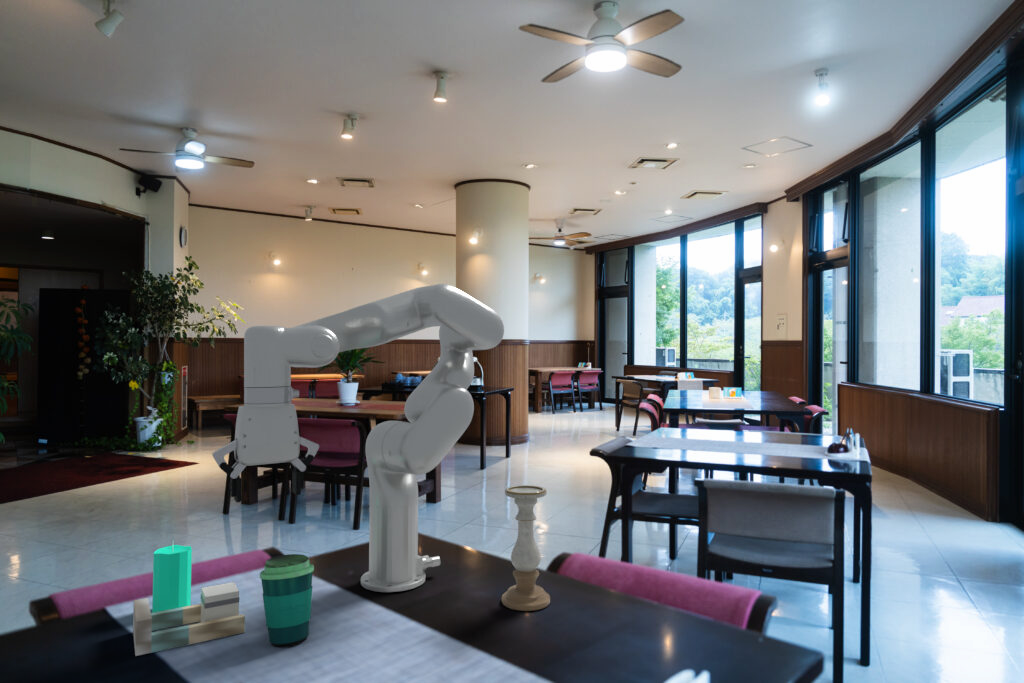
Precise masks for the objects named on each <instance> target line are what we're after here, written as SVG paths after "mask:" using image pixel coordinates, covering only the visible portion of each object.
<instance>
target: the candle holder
mask: <svg viewBox="0 0 1024 683" xmlns="http://www.w3.org/2000/svg"><path fill="white" fill-rule="evenodd" d="M504 495H505V496H506V497H509V498H513V500H514V501H513V502H514V504H516V506H517V508H518V512H517V514H516V515H515V517H514V519H515V520H516V521H517V523H518V524H517V525H518V526H517V537H516V541H515V543H514V546H513V548H512V549H511V550H512V551H511V554H510V561H511V564H512V565H513V567H514V568H515V569H514V570H513V571H512V576H513V577H514V579H515V584H514V585H511V586H509V588H508V589H507V591H505V592H504V593H503V594H502V596H501V603H502V605H503V606H505V607H506V608H508V609H510V610H515V611H520V612H521V611H524V612H530V611H532V612H533V611H538V610H542V609H544V608H547V607H548V606H549V605H550V603H551V596H550V594H549V593H548V592H547V591H545V590H544V588H543V587H542V586H540V585H537V584H536V581H537V578H538V577H539V575H540V572H539V570H537V568H538V566H539V565H540V564H541V560H542V559H541V558H542V556H541V552H540V548H539V547H538V545H537V541H536V539H535V532H534V531H535V530H534V522H535V520H537V516H536V514H535V513H534V508H535V506H536V504H537V503H538V499H539V498H543V497H545V496H547V488H546V487H543V486H538V485H529V484H528V485H526V484H525V485H524V484H523V485H520V484H519V485H514V486H509V487H506V488H505V491H504Z"/></svg>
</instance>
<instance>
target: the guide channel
mask: <svg viewBox="0 0 1024 683" xmlns="http://www.w3.org/2000/svg"><path fill="white" fill-rule="evenodd" d="M132 614H133V618H132V620H133V621H132V636H133V644H134V646H133V648H134V655H135V657H137V656H143V655H146V654H152V653H155V652H156V653H157V652H161V651H166V650H169V649H175V648H179V647H184V646H188V645H194V644H198V643H203V642H207V641H210V640H211V641H213V640H217V639H222V638H225V637H230V636H234V635H239V634H243V633H245V632H246V627H245V626H246V625H245V624H246V616H245V614H243V613H241V614H239V615H236V616H232V617H227V618H222V619H217V620H212V621H207V622H202V623H201V603H197V604H191V606H186V607H180V608H175V609H170V610H164V611H159V612H154V613H152V610H151V606H150V602H149V598H148V597H146V598H139V599H135V600H133V613H132ZM198 622H199V623H198ZM183 625H184V626H183ZM178 626H179V627H178Z"/></svg>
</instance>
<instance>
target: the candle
mask: <svg viewBox="0 0 1024 683" xmlns="http://www.w3.org/2000/svg"><path fill="white" fill-rule="evenodd" d="M174 542H175V541H174V539H173V540H172V545H168V546H164V547H161V548H158V549H156V550H155V551H154V552H153V556H152V557H153V563H152V566H153V568H152V602H151V603H152V605H151V608H152V609H151V613H154V612H159V611H164V610H170V609H175V608H180V607H186V606H191V605H192V604H191V601H192V597H191V596H192V562H193V561H192V557H193V555H192V554H193V549H192V546H191V545H182V544H181V545H179V544H174Z"/></svg>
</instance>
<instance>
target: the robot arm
mask: <svg viewBox="0 0 1024 683" xmlns="http://www.w3.org/2000/svg"><path fill="white" fill-rule="evenodd" d="M433 327H439V329H438V338H439V343H440V355H439V359H438V362H437V363H436V364H435V366H434V367H433V369H432V370H431V371H430V372H429V373H428V374H427V375H426V377H425V378H423V380H422V381H421V382H420V383H419V384H418V385H417V386H416V388H415V389H414V390H413V391H412V392H411V393H410V395H408V397H407V399H406V401H405V403H404V408H403V411H404V415H405V418H406V419H407V421H400V420H387V421H383V422H381V423H378V424H376V425H375V426H374V427H373V428H372V429H371V430H370V432H369V434H368V435H367V438H366V442H365V449H364V450H365V457H366V464H367V471H368V480H369V481H368V482H369V510H368V512H369V520H368V521H369V522H368V524H369V528H368V530H369V533H368V535H369V536H368V539H369V541H368V545H369V546H368V571H366V572H364V573H363V574H362V576H361V577H360V585H361V586H362V588H364V589H366V590H369V591H372V592H378V593H397V592H404V591H409V590H412V589H415V588H418V587H420V586H422V585H423V584H424V583H425V582H426V572H425V571H426V570H427V568H434V567H439V566H440V565H441V558H440V556H439V555H436V556H429V554H425V555H422V556H421V555H419V485H418V479H417V475H419V476H420V475H425V474H427V473H430V472H431V471H433V470H434V469H436V467H437V466H438V465H439V464H440V463H441V461H443V459H445V457H446V456H447V455H448V453H449V452H450V451H451V449H452V448H453V447H454V446H455V444H456V443H457V442H458V440H459V439H460V438H461V437H462V436H463V435H464V433H465V431H466V430H467V429H468V427H469V426H470V424H471V422H472V420H473V416H474V411H475V404H474V399H473V397H472V394H471V393H470V392H469V390H468V388H469V387H470V386H471V384H472V383H473V380H474V377H475V376H474V375H475V363H474V355H473V354H474V353H473V351H484V350H490V349H494V348H495V347H497V346H498V345H499V344H500V343H501V342H502V340H503V338H504V336H505V335H504V334H505V326H504V321H503V320H502V318H501V316H500V315H499V314H498V313H497V312H496V310H494V309H492V308H491V307H490V306H488V305H486V304H484V303H482V302H481V301H480V300H478V299H476V298H474V297H473V296H471V295H469V294H468V293H466V292H464V291H463V290H461V289H460V288H457V287H455V286H453V285H450V284H447V283H437V284H433V285H432V284H431V285H426V286H420V287H416V288H413V289H409V290H406V291H403V292H399V293H397V294H393V295H391V296H387V297H385V298H382V299H377V300H375V301H371V302H367V303H364V304H362V305H358V306H356V307H353V308H350V309H348V310H344V311H342V312H338V313H335V314H331V315H328V316H325V317H322V318H318V319H316V320H312V321H308V322H305V323H302V324H300V325H296V326H292V327H284V326H280V325H255V326H250V327H248V328H247V329H246V330H245V332H244V335H243V336H244V337H243V338H244V339H243V344H244V345H243V350H244V351H243V369H244V371H243V377H244V378H243V390H244V391H243V392H244V393H243V400H244V401H243V405H240V406H238V410H237V413H236V414H237V415H236V419H235V420H236V421H235V431H234V432H235V433H234V440H233V441H231V442H229V443H227V444H225V445H224V446H222V447H220V448H218V449H216V450H214V451H213V452H212V453H211V454H212V455H211V456H212V457H213V460H214V461H215V463H216V464H217V466H218V467H219V469H221V471H222V472H224V473H225V474H226V475H227V476H229V479H230V482H229V487H230V492H229V493H230V497H231V498H234V501H235V502H236V503H241V502H242V501H243V500H242V498H243V496H242V494H243V492H242V490H243V488H242V487H243V486H242V483H243V482H242V481H243V480H242V479H243V478H241V474H242V472H243V471H244V470H245V468H247V466H249V467H251V466H259V465H260V466H261V465H271V464H272V465H273V464H280V463H281V464H282V463H283V464H284V463H290V464H291V465H292V466H293V467H294V469H293V470H292V472H291V478H292V479H291V482H292V484H291V486H292V487H291V491H292V493H293V494H295V495H296V496H300V495H301V494H302V493H301V492H302V490H303V489H304V487H305V486H304V483H305V481H304V478H305V477H304V472H305V471H306V470H307V468H308V466H309V465H311V463H313V461H314V460H315V456H316V455H317V452H318V451H319V450H320V449H319V448H320V444H319V443H316V442H314V441H311V440H309V439H307V438H304V437H302V436H300V432H299V431H300V430H299V423H298V421H299V420H298V414H297V410H296V406H295V405H296V404H294V403H292V402H293V399H295V398H299V397H300V389H295V388H293V387H292V386H291V384H292V383H291V382H292V381H291V380H292V372H291V371H292V369H291V368H322V367H324V366H328V365H329V364H331V363H333V361H334V360H336V358H337V356H338V354H339V353H343V352H346V351H350V350H357V349H367V348H372V347H373V348H374V347H376V346H382V345H384V344H387V343H390V342H392V341H395V340H398V339H400V338H402V337H405V336H409V335H410V334H414V333H417V332H419V331H423V330H425V329H428V328H433ZM300 446H303V447H306V448H307V453H306V454H305V455H304V456H303V457H302V458H301V459H300V458H299V457H300V451H301V450H300V449H301V448H300ZM232 452H233V453H234V456H233V457H234V460H235V461H236V462H235V463H234V464H233V465H232V466H230V465H229V464H228V463H227V462H226V460H225V456H226V455H228V454H229V453H232ZM301 489H302V490H301Z"/></svg>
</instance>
